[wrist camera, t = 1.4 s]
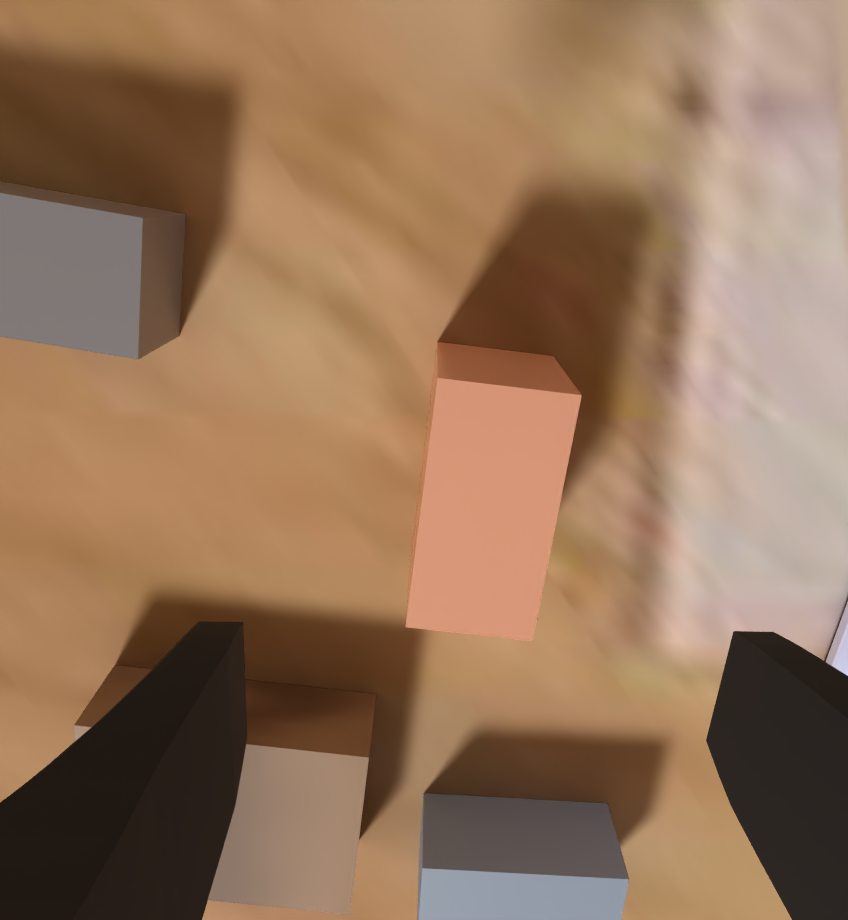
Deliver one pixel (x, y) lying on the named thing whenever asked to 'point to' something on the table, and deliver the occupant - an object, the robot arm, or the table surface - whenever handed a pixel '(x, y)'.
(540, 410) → the terracotta brick
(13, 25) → the table surface
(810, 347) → the table surface
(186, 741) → the robot arm
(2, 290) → the gray brick
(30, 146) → the table surface
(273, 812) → the walnut block
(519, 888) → the slate-blue brick
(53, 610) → the table surface
